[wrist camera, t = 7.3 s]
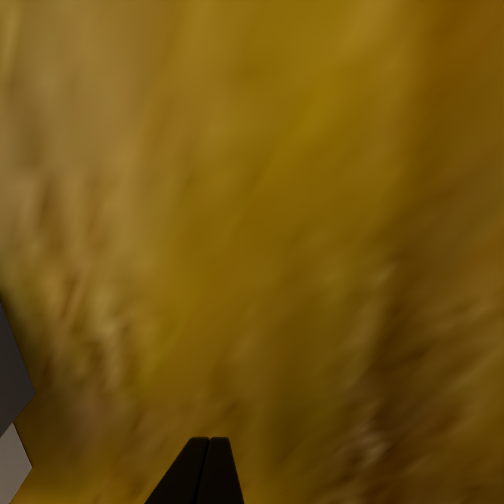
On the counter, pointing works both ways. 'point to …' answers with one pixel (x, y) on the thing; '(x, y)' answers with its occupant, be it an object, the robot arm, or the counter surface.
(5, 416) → the plug
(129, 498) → the counter surface
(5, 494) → the light grey rectangular block
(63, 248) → the counter surface
